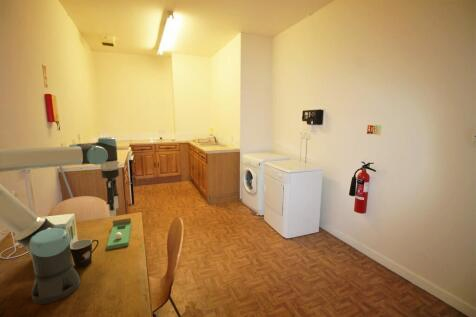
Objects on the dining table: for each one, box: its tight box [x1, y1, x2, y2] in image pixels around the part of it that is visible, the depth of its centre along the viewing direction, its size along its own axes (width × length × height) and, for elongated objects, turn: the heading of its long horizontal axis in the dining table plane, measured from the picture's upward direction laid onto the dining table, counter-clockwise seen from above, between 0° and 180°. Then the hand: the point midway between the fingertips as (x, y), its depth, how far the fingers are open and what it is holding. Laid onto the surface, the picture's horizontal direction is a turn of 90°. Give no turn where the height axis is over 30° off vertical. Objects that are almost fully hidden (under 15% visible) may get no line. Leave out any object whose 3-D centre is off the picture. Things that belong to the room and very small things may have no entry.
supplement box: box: [44, 213, 79, 245], centre depth 117 cm, size 13×13×18 cm
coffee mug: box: [70, 238, 99, 269], centre depth 109 cm, size 12×9×10 cm
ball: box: [115, 232, 122, 239], centre depth 128 cm, size 4×4×4 cm
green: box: [106, 217, 132, 250], centre depth 134 cm, size 26×10×5 cm, turn 21°
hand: (114, 212), depth 119 cm, fingers open, 10 cm apart
